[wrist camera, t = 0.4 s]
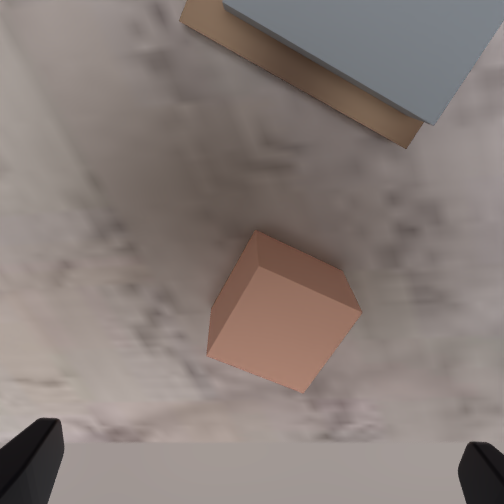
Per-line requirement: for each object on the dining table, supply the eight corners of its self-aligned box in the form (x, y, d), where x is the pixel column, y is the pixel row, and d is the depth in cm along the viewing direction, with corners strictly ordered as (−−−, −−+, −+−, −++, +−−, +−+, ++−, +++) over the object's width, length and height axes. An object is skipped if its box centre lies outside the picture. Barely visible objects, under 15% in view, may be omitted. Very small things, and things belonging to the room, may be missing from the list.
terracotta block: (341, 269, 22) (362, 312, 18) (293, 341, 24) (303, 393, 20) (255, 228, 21) (259, 265, 17) (211, 307, 22) (206, 355, 19)
